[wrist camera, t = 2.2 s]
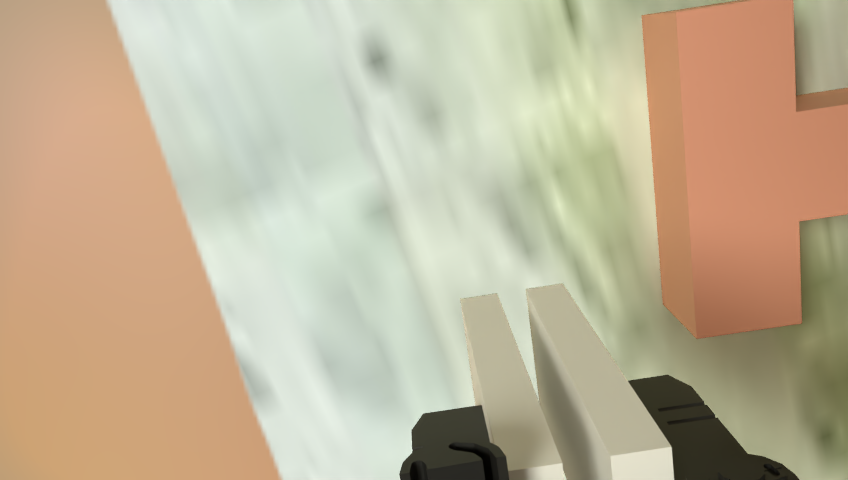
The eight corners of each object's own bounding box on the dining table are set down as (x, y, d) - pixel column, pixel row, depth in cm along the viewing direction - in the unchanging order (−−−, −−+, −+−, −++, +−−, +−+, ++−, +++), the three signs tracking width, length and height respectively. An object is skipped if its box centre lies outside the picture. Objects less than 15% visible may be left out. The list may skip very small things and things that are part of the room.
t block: (641, 15, 30) (675, 11, 27) (923, -28, 30) (999, -38, 26) (662, 304, 34) (696, 338, 30) (919, 266, 33) (987, 296, 29)
